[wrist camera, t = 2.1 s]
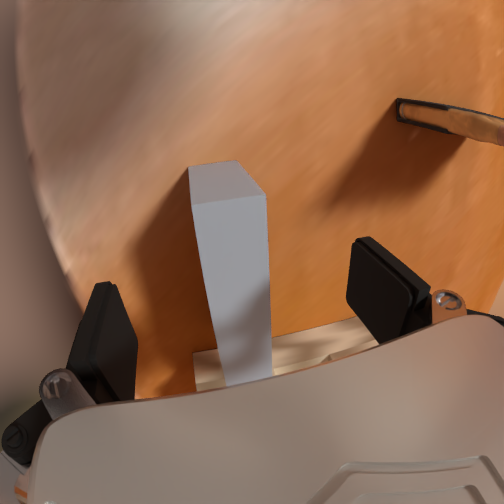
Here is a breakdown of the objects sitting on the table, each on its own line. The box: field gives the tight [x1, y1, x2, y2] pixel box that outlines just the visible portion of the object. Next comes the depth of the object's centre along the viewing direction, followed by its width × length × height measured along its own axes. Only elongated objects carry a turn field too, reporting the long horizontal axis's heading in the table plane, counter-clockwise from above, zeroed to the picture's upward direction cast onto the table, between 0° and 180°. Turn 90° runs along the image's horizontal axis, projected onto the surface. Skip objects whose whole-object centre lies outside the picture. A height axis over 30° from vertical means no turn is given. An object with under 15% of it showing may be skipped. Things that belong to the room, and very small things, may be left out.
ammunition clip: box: [397, 98, 504, 146], centre depth 14 cm, size 11×2×12 cm, turn 95°
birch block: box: [192, 316, 379, 391], centre depth 24 cm, size 18×3×7 cm, turn 94°
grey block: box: [188, 160, 272, 386], centre depth 18 cm, size 13×3×7 cm, turn 4°
